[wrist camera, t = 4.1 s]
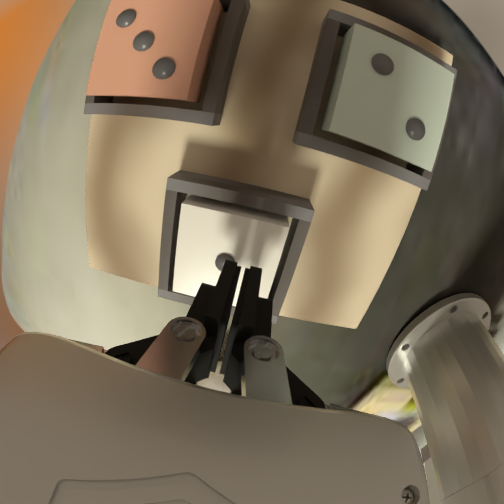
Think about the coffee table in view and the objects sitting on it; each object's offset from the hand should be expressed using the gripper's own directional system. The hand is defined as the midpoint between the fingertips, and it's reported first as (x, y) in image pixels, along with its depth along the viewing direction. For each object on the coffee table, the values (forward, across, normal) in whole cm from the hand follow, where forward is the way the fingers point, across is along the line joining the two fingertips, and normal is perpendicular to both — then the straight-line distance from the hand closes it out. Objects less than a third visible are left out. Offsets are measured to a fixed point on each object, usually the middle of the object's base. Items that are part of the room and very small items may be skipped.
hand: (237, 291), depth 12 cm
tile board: (+6, +1, -6) cm, 8 cm away
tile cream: (+4, +1, 0) cm, 4 cm away
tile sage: (+3, -5, -10) cm, 12 cm away
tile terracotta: (+3, +6, -10) cm, 12 cm away
